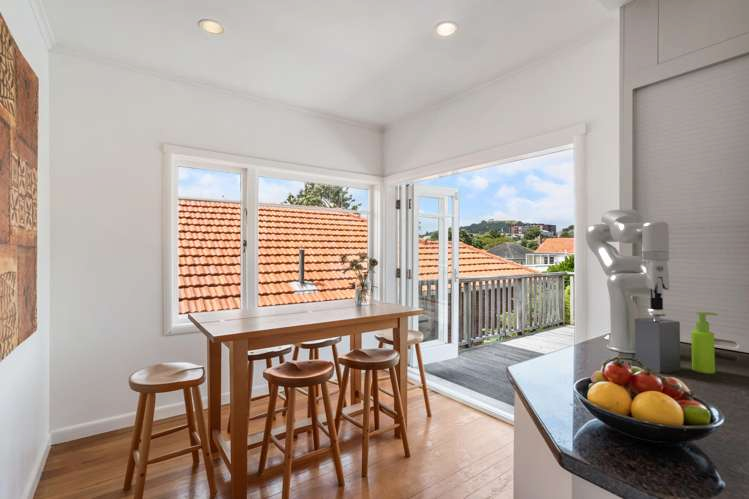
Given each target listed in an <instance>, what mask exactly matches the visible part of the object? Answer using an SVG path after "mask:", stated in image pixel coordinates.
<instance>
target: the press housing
mask: <svg viewBox="0 0 749 499" xmlns="http://www.w3.org/2000/svg"><path fill="white" fill-rule="evenodd" d="M634 359H638V360H640V361H642V362H643V363H644V364H645V365H646V366H647V367H648V368H650V370H649V371H652V370H654V371H653V372H655V371H660V372H665V373H672V371H673V372H680V371H681V324H680V321H679V320H678V321H677V320H672V319H667V318H662V317H660V321H654V320H653V316H651V317H641V318H640V317H638V318H636V319H635V353H634ZM634 365H635V366H636V365H637V363H635V364H634ZM651 369H652V370H651Z"/></svg>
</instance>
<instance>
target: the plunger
mask: <svg viewBox="0 0 749 499" xmlns="http://www.w3.org/2000/svg"><path fill="white" fill-rule="evenodd" d="M666 310H667V309H666V308H663V309H662V310H657V309H651V307H648V308H647V309H646V311H647V312H646V313H647V315H648V316H652V317H653V320H654V321H660V318H661V317H666V316H667V311H666Z"/></svg>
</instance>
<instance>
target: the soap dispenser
mask: <svg viewBox="0 0 749 499" xmlns="http://www.w3.org/2000/svg"><path fill="white" fill-rule="evenodd" d="M695 314H696V315H698V320H697V321H695V330H691V370H693V371H695V372H697V373H703V374H716V366H715V365H716V362H715V359H716V358H715V357H716V356H715V353H716V352H715V351H716V350H715V333H714V332H711V331H710V322H709V321H706V319H707V318H706V317H707V316H706V315H708V316H709V315H712V316H718V313H714V312H711V311H696V312H695Z"/></svg>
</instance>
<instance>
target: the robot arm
mask: <svg viewBox="0 0 749 499" xmlns="http://www.w3.org/2000/svg"><path fill="white" fill-rule="evenodd" d="M642 221H643V218H642V214H641V212H640V211H638V210H635V209H612V210H608V211H606V212H605V213H603V215H602V216H601V223H598V224H592V225H590V226H589V227H587V228H586V231H585V240H586V244H587V246H588V248H589V249H590V251H591V252H592V253H593V255H595V256H596V258H597V260H598V262H599V264H600V266H601V268H602V270H603V272H604V274H605V275H606V276H607V277H608V278H607V280H606V285H607V290H608V295H609V296H608V297H609V306H610V307H609V310H610V313H609V314H610V316H609V317H610V335H609V334H607V335H606V336H604V340H605V341H608V343H606V348H607V349H608V350H610V351H612V352H613V351H614V352H618V353H623V354H624V353H626V354H635V319H636V318H639V309H638V305H637V303H636V302H635V301H634V300H633V299H632V297H650V300H649V301H650V304H649V305H650V308H651V309H657V310H662V309H664V305H663V304H664V301H663V300H664V299H663V297H664V296H663V291H664V290H665V291H669V289H670V275H669V267H668V262H670V241H669V240H670V238H669V237H670V234H669V232H670V231H669V230H670V229H669V228H670V227H669V223H668V222H666V221H648V222H642ZM610 243H620V244H621V243H622V244H642V245H641V246H642V248H641V249H642V254H641V256H642V257H641V256H639V255H638V256H637V255H621V254H620V252H619V250H618V249H617V248H616V247H614V245H612V244H610Z"/></svg>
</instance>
